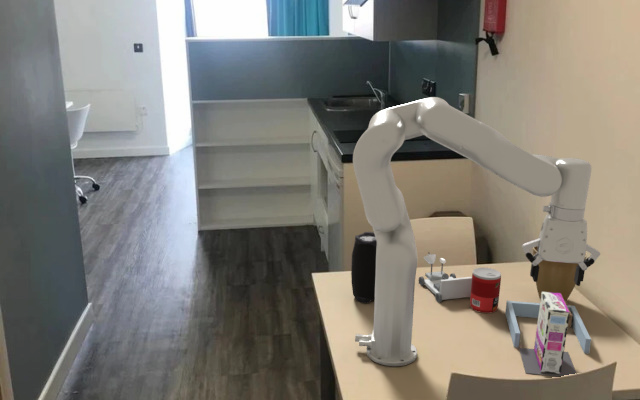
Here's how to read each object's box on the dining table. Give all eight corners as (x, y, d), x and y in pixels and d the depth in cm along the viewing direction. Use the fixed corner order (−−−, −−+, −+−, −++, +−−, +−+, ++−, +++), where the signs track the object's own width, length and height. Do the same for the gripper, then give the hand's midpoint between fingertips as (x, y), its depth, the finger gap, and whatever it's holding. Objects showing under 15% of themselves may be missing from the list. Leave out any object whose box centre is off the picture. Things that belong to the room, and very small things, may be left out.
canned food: (498, 314, 184) (502, 279, 181) (469, 312, 186) (472, 276, 183) (497, 303, 192) (500, 268, 188) (469, 300, 193) (472, 266, 190)
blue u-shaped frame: (513, 347, 167) (515, 332, 166) (505, 313, 185) (506, 300, 184) (589, 353, 164) (591, 339, 163) (572, 318, 183) (574, 305, 181)
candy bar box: (562, 375, 154) (570, 312, 149) (540, 373, 155) (548, 310, 150) (553, 351, 165) (561, 292, 160) (533, 349, 165) (540, 290, 161)
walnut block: (555, 327, 178) (557, 314, 177) (551, 320, 182) (553, 307, 180) (570, 328, 177) (572, 315, 176) (566, 321, 181) (568, 308, 180)
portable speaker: (386, 302, 191) (389, 240, 185) (355, 306, 189) (357, 242, 183) (376, 290, 199) (378, 230, 193) (347, 293, 197) (348, 232, 191)
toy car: (416, 251, 205) (450, 248, 208) (414, 280, 208) (448, 277, 211) (441, 273, 188) (477, 270, 191) (439, 304, 191) (474, 300, 194)
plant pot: (551, 314, 185) (558, 262, 180) (516, 294, 198) (522, 244, 193) (591, 306, 191) (598, 255, 186) (554, 286, 204) (561, 238, 199)
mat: (525, 373, 155) (525, 372, 155) (519, 348, 166) (519, 347, 166) (578, 378, 153) (578, 377, 153) (568, 352, 165) (568, 351, 165)
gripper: (529, 214, 146) (520, 284, 151) (610, 221, 144) (597, 291, 149) (525, 204, 153) (515, 271, 158) (601, 210, 151) (590, 278, 156)
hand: (555, 281), depth 154 cm, fingers open, 9 cm apart
